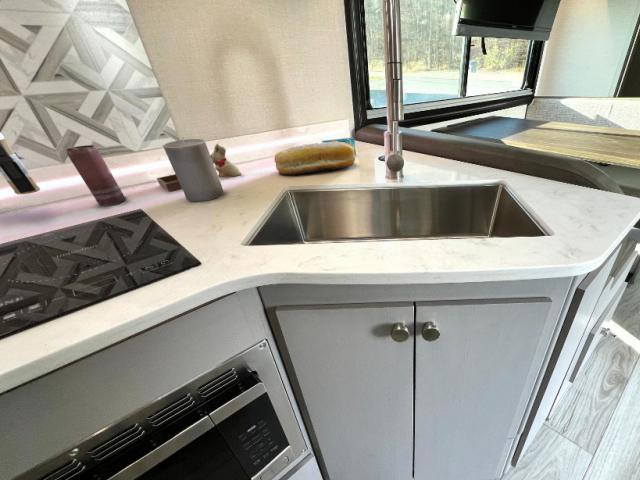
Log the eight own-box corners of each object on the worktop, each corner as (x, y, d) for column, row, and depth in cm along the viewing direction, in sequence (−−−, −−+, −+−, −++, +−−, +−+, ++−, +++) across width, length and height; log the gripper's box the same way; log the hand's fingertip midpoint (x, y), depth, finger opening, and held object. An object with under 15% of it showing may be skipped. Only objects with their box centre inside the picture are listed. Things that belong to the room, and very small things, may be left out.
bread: (360, 169, 106) (357, 143, 101) (279, 180, 99) (272, 152, 94) (350, 160, 116) (347, 136, 111) (276, 169, 109) (269, 144, 104)
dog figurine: (230, 171, 108) (219, 139, 102) (243, 174, 105) (233, 141, 99) (215, 175, 105) (202, 142, 99) (228, 179, 101) (216, 145, 95)
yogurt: (325, 159, 118) (322, 141, 114) (324, 158, 119) (321, 140, 115) (356, 155, 121) (354, 137, 117) (355, 154, 122) (353, 137, 118)
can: (103, 200, 88) (70, 146, 80) (129, 197, 90) (99, 143, 81) (94, 207, 84) (57, 151, 75) (121, 204, 85) (88, 148, 77)
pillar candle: (217, 187, 94) (196, 132, 85) (229, 195, 88) (207, 136, 79) (182, 196, 89) (155, 137, 80) (191, 204, 83) (164, 142, 74)
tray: (169, 192, 92) (165, 184, 91) (160, 185, 98) (156, 178, 96) (208, 182, 99) (205, 175, 97) (197, 177, 104) (194, 169, 102)
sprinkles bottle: (24, 190, 78) (-22, 129, 70) (45, 188, 79) (3, 128, 71) (11, 196, 74) (-39, 133, 66) (33, 194, 75) (-12, 131, 67)
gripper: (-35, 70, 59) (51, 193, 74) (-30, 68, 69) (45, 177, 83) (-98, 71, 55) (6, 202, 69) (-83, 70, 65) (5, 184, 79)
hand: (27, 188), depth 76 cm, fingers closed on sprinkles bottle, 4 cm apart
